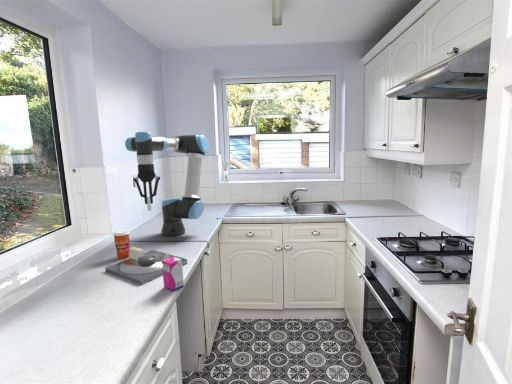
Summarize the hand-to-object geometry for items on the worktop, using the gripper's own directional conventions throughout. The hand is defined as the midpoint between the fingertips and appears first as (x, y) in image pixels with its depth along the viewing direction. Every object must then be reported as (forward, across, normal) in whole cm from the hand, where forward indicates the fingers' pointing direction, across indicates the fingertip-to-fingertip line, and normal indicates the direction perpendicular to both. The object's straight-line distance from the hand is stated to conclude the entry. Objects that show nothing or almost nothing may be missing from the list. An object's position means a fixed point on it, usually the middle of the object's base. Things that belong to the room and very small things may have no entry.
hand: (149, 210), depth 150 cm
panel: (+24, -4, -14) cm, 29 cm away
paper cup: (+25, -14, +5) cm, 29 cm away
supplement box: (+25, +4, -40) cm, 47 cm away
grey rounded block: (+22, -6, -11) cm, 25 cm away
